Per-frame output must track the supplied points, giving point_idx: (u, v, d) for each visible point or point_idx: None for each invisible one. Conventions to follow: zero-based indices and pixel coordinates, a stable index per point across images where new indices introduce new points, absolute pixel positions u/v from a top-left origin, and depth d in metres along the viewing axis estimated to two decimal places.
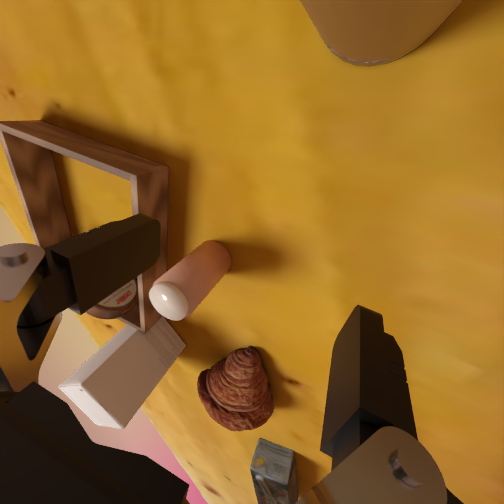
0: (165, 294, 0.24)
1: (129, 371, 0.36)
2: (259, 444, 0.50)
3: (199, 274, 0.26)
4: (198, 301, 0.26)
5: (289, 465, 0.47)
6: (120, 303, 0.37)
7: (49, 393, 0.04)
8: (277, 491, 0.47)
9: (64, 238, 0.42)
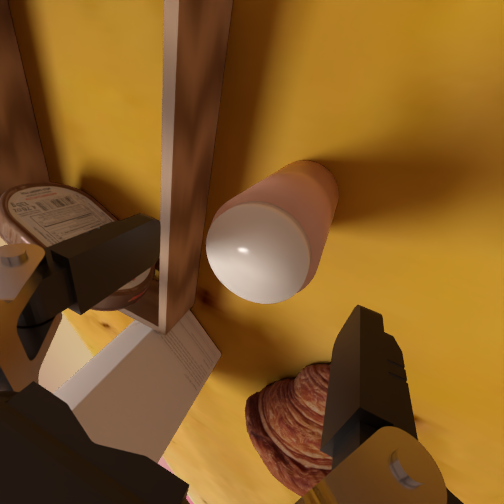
0: (255, 232, 0.09)
1: (141, 400, 0.21)
2: None
3: (317, 198, 0.12)
4: None
5: None
6: (126, 284, 0.22)
7: (49, 393, 0.04)
8: None
9: None
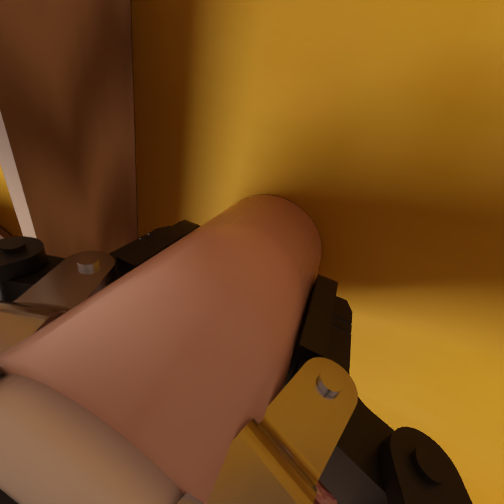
0: (17, 502, 0.03)
1: None
2: None
3: (258, 311, 0.05)
4: None
5: None
6: None
7: None
8: None
9: None
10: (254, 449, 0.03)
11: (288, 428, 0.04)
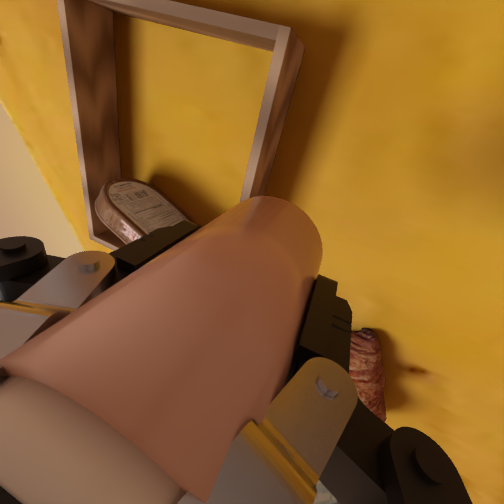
0: (22, 503, 0.03)
1: None
2: None
3: (259, 313, 0.05)
4: None
5: None
6: None
7: None
8: None
9: None
10: (254, 449, 0.03)
11: (288, 428, 0.04)
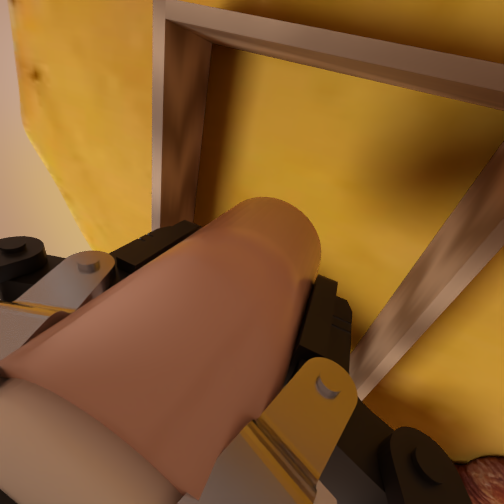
0: None
1: None
2: None
3: (257, 315, 0.05)
4: None
5: None
6: None
7: None
8: None
9: None
10: (254, 449, 0.03)
11: (288, 428, 0.04)
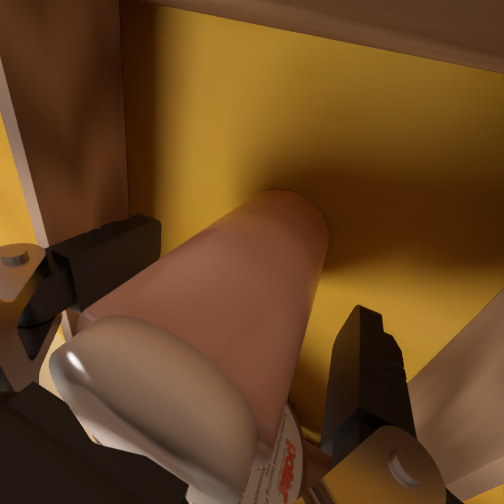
0: (125, 397, 0.04)
1: None
2: None
3: (283, 279, 0.06)
4: None
5: None
6: (289, 497, 0.14)
7: (49, 393, 0.04)
8: None
9: None
10: None
11: None
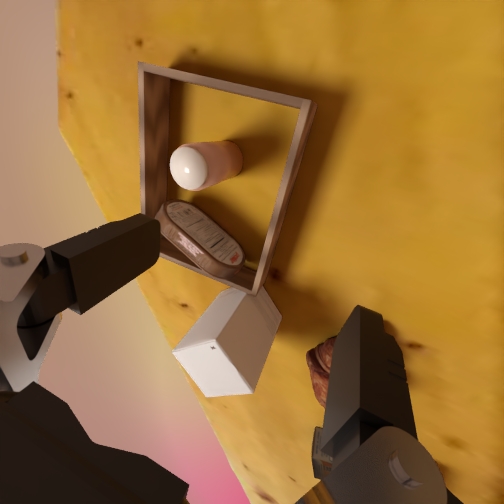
0: (186, 157, 0.26)
1: (248, 334, 0.34)
2: None
3: (216, 149, 0.28)
4: (215, 172, 0.28)
5: None
6: (234, 262, 0.36)
7: (49, 393, 0.04)
8: None
9: (161, 202, 0.41)
10: None
11: None
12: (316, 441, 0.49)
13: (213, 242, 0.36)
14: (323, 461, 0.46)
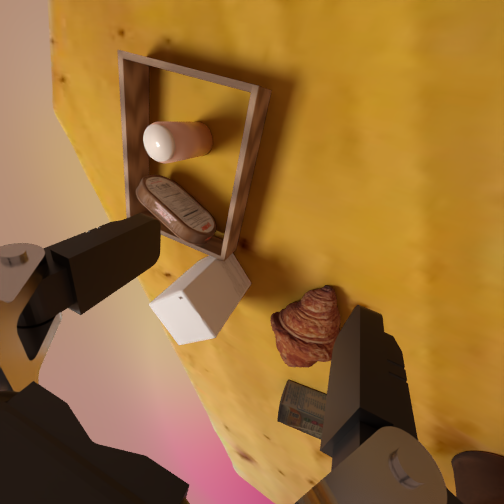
0: (156, 133, 0.31)
1: (214, 291, 0.39)
2: None
3: (184, 128, 0.33)
4: (182, 147, 0.33)
5: None
6: (204, 230, 0.41)
7: (49, 393, 0.04)
8: None
9: None
10: None
11: None
12: (287, 391, 0.54)
13: (187, 212, 0.41)
14: (291, 408, 0.52)
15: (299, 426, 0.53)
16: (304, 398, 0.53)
